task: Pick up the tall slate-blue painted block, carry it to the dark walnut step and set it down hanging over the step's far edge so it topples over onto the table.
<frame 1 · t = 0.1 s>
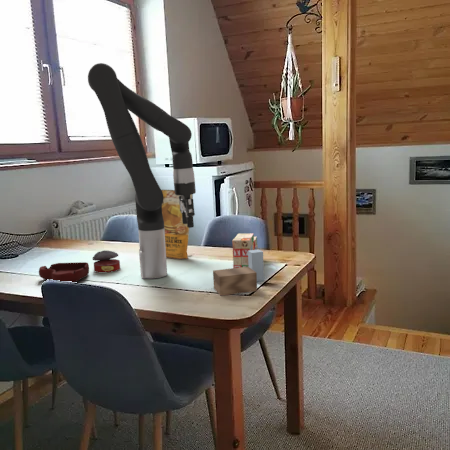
hand: (188, 225, 178), 17 cm above the table, tool pointing down, fingers open, 8 cm apart
block: (256, 279, 167), on the table
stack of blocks: (246, 266, 187), on the table
step: (235, 289, 157), on the table
canned food: (107, 270, 190), on the table
pancake mix bag: (174, 256, 207), on the table
ashtray: (68, 280, 178), on the table
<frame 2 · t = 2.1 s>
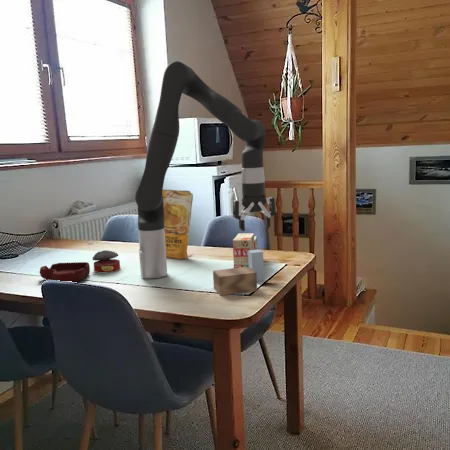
hand: (255, 229, 164), 17 cm above the table, tool pointing down, fingers open, 8 cm apart
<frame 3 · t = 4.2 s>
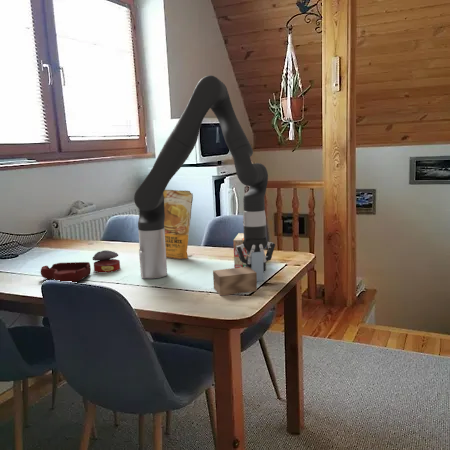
hand: (256, 273, 167), 2 cm above the table, tool pointing down, fingers closed on block, 4 cm apart
block: (256, 279, 167), on the table, touching gripper
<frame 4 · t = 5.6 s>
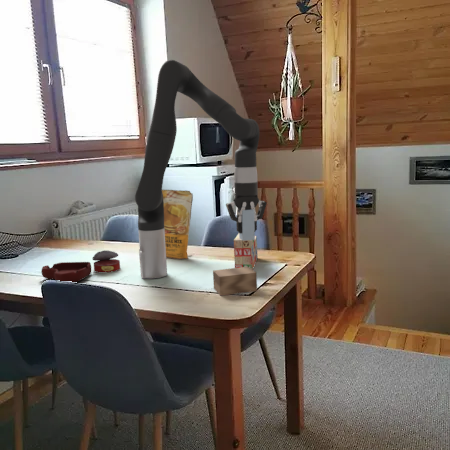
hand: (246, 232, 163), 17 cm above the table, tool pointing down, fingers closed on block, 4 cm apart
block: (247, 239, 164), point 14 cm above the table, touching gripper
everything else where it was.
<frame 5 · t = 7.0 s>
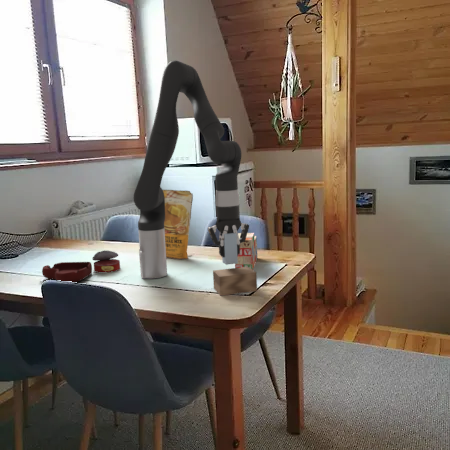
hand: (229, 255, 160), 10 cm above the table, tool pointing down, fingers closed on block, 4 cm apart
block: (230, 262, 161), point 8 cm above the table, touching gripper
when the fingers open (9 cm above the table, at t = 7.5 s): block drops 5 cm and tips over, point 2 cm above the table.
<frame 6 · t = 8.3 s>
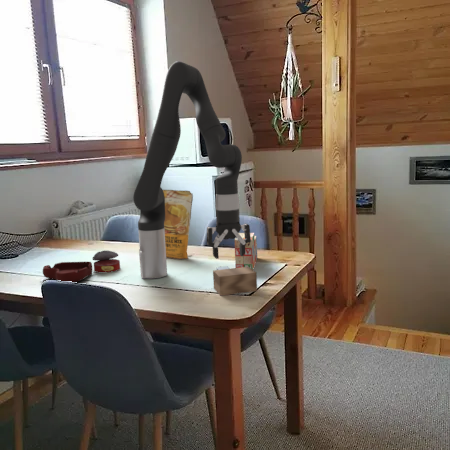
hand: (229, 256, 160), 10 cm above the table, tool pointing down, fingers open, 8 cm apart
block: (229, 279, 162), point 2 cm above the table, tilted 90°
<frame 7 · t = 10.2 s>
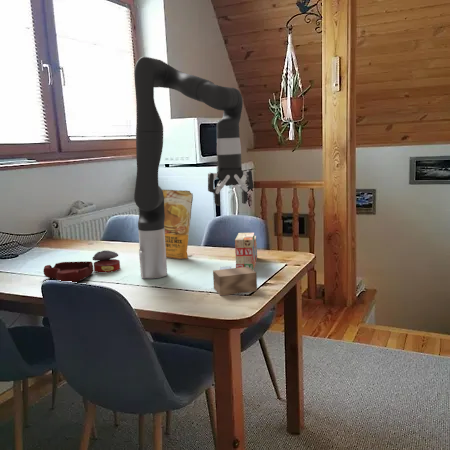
hand: (231, 204, 156), 27 cm above the table, tool pointing down, fingers open, 8 cm apart
block: (225, 280, 162), point 2 cm above the table, tilted 90°
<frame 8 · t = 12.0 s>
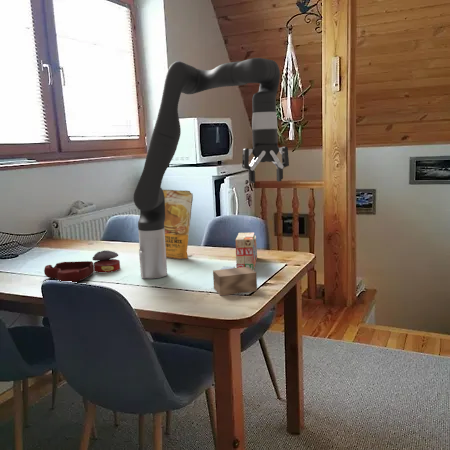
hand: (266, 182, 150), 34 cm above the table, tool pointing down, fingers open, 8 cm apart
block: (221, 280, 162), point 2 cm above the table, tilted 90°
at the end: block tilted 90°; block inside the target area (5.2 cm from its centre), point 1.7 cm above the table; the gripper is holding nothing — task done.
